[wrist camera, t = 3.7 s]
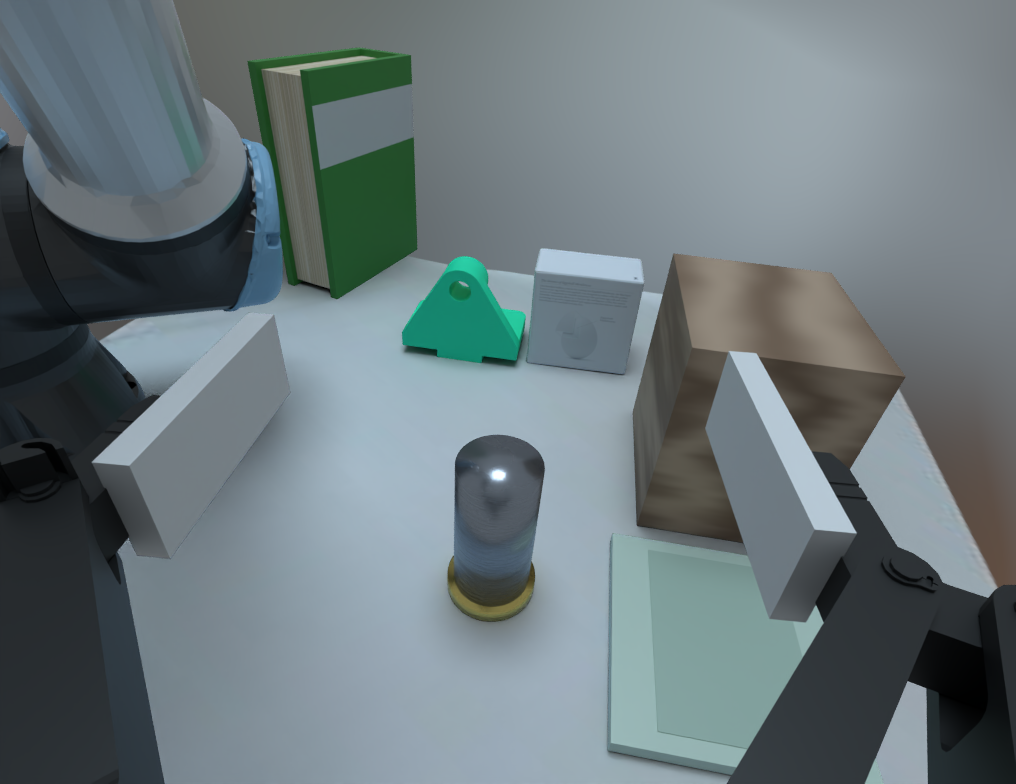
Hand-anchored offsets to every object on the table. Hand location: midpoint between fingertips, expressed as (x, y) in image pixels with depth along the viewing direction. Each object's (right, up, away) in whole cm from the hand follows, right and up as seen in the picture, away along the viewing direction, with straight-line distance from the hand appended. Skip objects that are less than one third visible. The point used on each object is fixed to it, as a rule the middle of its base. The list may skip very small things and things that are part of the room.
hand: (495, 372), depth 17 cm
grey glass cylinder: (-1, -13, +21) cm, 25 cm away
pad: (+14, -17, +19) cm, 28 cm away
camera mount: (-4, +5, +46) cm, 46 cm away
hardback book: (-20, +16, +59) cm, 64 cm away
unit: (+17, -7, +31) cm, 36 cm away
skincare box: (+8, +3, +45) cm, 46 cm away
